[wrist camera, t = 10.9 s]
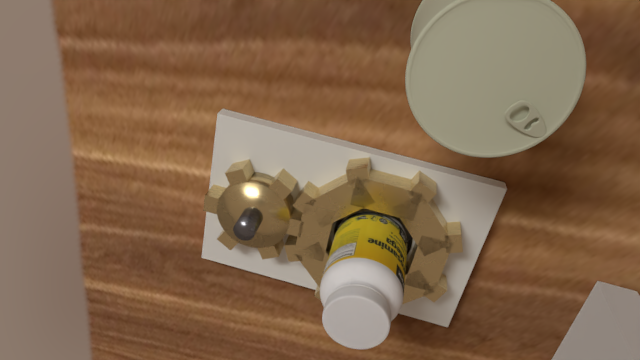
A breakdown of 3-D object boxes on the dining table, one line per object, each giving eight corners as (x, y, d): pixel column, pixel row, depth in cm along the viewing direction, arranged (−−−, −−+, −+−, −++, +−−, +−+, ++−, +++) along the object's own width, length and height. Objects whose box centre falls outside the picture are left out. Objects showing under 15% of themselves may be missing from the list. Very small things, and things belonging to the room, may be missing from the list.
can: (466, 121, 40) (480, 193, 30) (384, 35, 39) (368, 79, 28) (572, 36, 36) (630, 84, 26) (485, -64, 35) (510, -56, 24)
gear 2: (308, 141, 42) (303, 150, 41) (482, 186, 41) (484, 198, 40) (280, 277, 49) (275, 290, 47) (429, 319, 48) (429, 334, 46)
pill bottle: (422, 246, 45) (420, 338, 35) (364, 277, 47) (348, 370, 37) (379, 192, 43) (364, 273, 33) (322, 227, 46) (293, 311, 36)
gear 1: (217, 150, 44) (197, 172, 40) (316, 176, 44) (305, 202, 40) (208, 230, 48) (189, 257, 44) (298, 255, 48) (287, 285, 44)
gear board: (222, 108, 44) (217, 113, 43) (504, 182, 42) (506, 189, 41) (206, 250, 51) (201, 257, 50) (447, 318, 49) (447, 327, 48)
